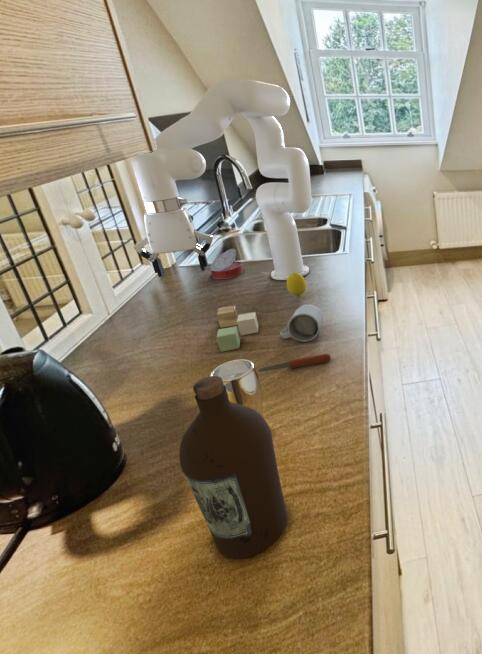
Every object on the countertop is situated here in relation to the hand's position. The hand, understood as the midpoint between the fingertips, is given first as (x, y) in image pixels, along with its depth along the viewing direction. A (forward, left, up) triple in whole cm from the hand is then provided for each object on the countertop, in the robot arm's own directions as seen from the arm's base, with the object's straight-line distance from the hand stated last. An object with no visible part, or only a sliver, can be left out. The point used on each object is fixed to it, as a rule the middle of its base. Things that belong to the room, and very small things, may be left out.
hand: (183, 272), depth 116 cm
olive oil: (+73, +17, -17) cm, 76 cm away
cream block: (+7, +13, -17) cm, 22 cm away
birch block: (0, +7, -16) cm, 18 cm away
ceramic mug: (+15, +26, -17) cm, 35 cm away
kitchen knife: (+31, +24, -17) cm, 42 cm away
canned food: (-43, +3, -17) cm, 46 cm away
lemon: (-11, +26, -17) cm, 33 cm away
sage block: (+14, +9, -16) cm, 23 cm away
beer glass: (+53, +16, -17) cm, 58 cm away
